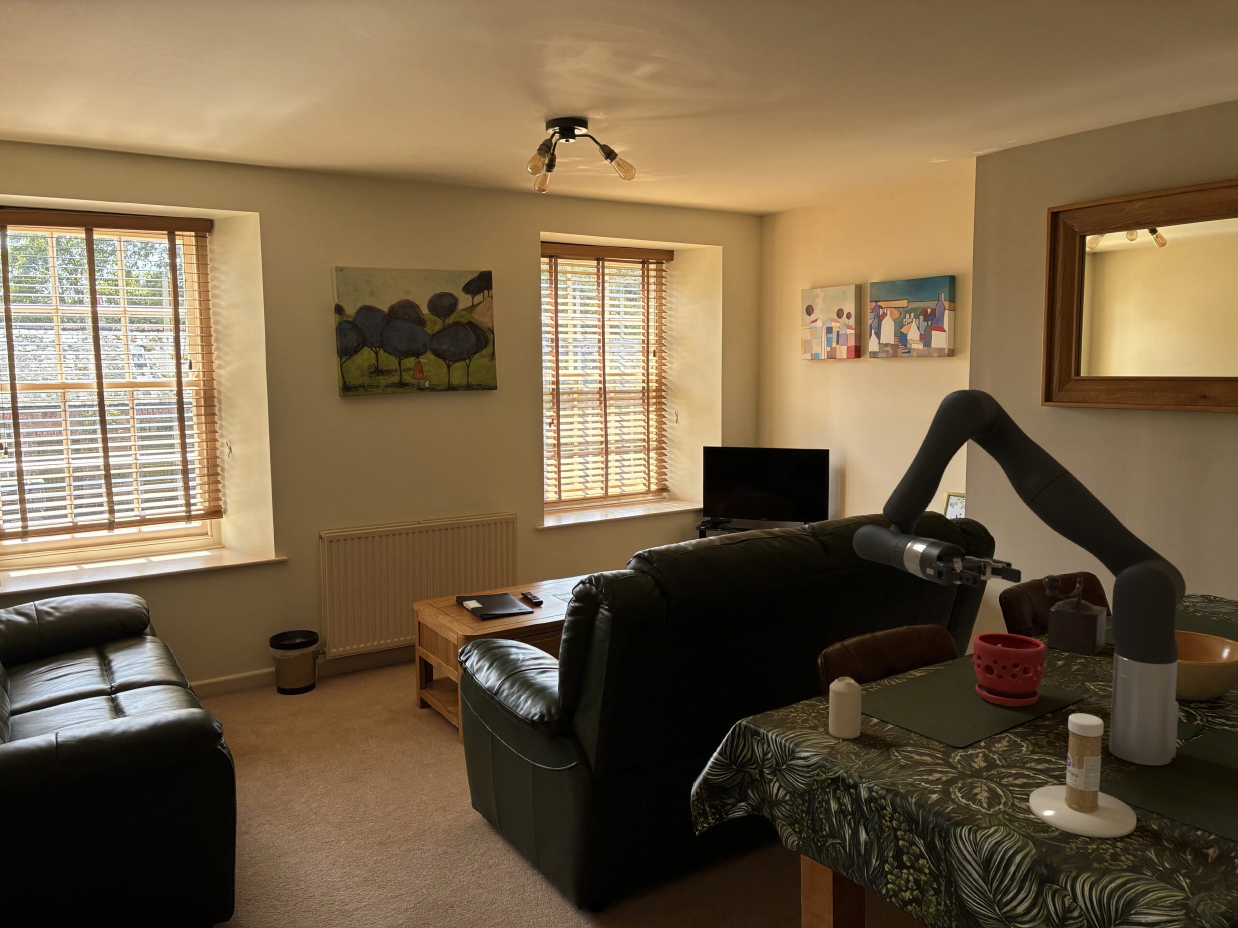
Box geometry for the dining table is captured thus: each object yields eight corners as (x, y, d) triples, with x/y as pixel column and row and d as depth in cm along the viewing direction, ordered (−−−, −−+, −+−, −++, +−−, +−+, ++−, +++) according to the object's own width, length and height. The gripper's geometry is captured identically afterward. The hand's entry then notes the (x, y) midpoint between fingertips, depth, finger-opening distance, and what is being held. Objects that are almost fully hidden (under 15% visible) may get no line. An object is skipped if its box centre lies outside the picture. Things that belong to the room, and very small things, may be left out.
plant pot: (1052, 712, 174) (1055, 651, 173) (980, 708, 176) (982, 648, 175) (1032, 688, 187) (1035, 631, 185) (965, 685, 189) (967, 629, 187)
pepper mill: (1056, 637, 223) (1059, 564, 221) (1106, 645, 215) (1109, 570, 214) (1036, 652, 211) (1039, 575, 209) (1088, 661, 204) (1092, 582, 202)
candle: (861, 740, 161) (862, 685, 160) (829, 737, 162) (830, 683, 161) (859, 728, 167) (860, 674, 166) (828, 725, 168) (829, 672, 167)
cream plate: (1078, 785, 143) (1078, 779, 143) (1159, 826, 130) (1159, 820, 130) (1008, 800, 138) (1008, 794, 138) (1084, 845, 125) (1084, 838, 125)
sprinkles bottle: (1058, 799, 136) (1062, 712, 135) (1087, 798, 137) (1091, 711, 135) (1075, 814, 132) (1080, 724, 131) (1106, 812, 132) (1110, 723, 131)
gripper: (903, 543, 165) (966, 560, 150) (966, 537, 170) (1033, 553, 155) (902, 583, 166) (964, 604, 151) (965, 577, 171) (1031, 597, 156)
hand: (999, 579), depth 153 cm, fingers open, 8 cm apart
